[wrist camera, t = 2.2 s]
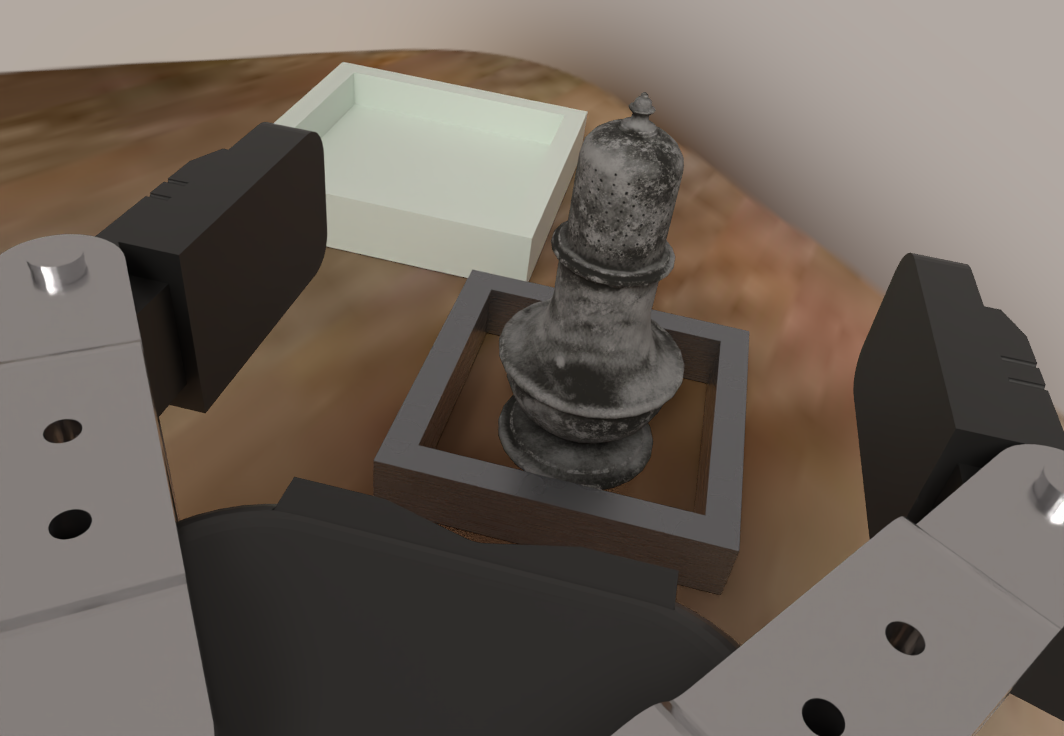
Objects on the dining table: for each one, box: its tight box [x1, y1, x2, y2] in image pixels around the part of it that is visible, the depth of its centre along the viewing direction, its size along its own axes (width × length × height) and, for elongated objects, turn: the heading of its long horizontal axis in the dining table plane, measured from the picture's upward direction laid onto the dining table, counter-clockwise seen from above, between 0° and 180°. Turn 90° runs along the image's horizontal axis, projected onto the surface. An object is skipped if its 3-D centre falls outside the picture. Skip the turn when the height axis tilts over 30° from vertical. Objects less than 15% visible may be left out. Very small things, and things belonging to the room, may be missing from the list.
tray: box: [273, 62, 588, 282], centre depth 41 cm, size 13×13×2 cm
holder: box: [374, 269, 749, 595], centre depth 29 cm, size 10×10×2 cm
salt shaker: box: [498, 92, 685, 490], centre depth 26 cm, size 6×6×12 cm
